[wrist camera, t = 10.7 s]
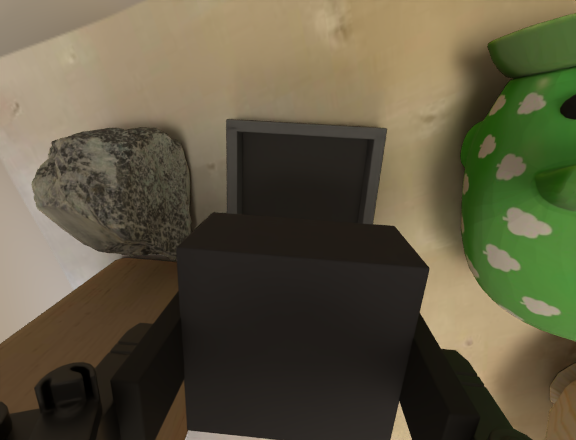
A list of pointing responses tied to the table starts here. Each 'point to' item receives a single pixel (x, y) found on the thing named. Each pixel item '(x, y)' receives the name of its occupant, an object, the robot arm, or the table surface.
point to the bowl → (563, 406)
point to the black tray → (303, 170)
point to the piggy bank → (527, 180)
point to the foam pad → (296, 326)
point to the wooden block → (90, 332)
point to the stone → (118, 190)
